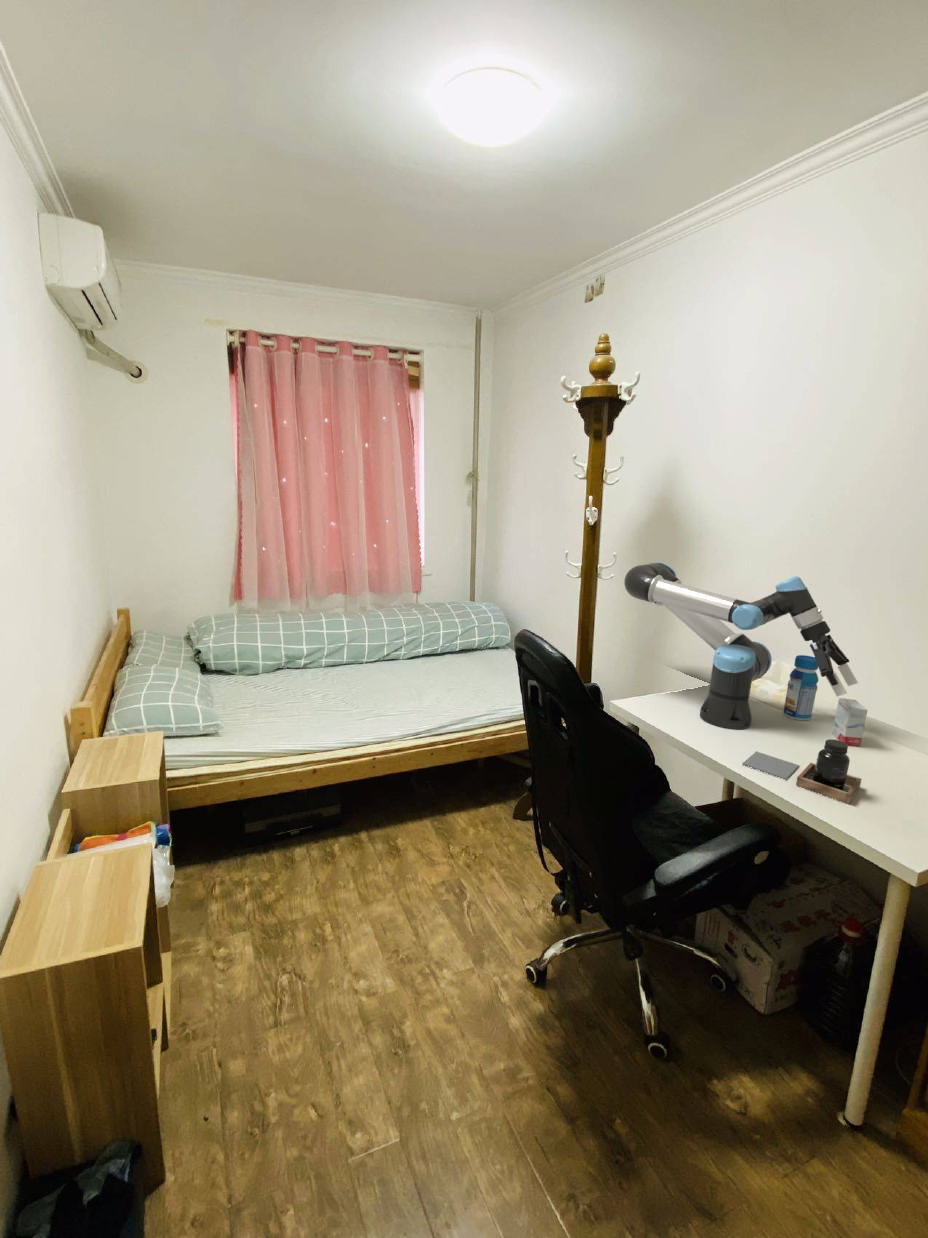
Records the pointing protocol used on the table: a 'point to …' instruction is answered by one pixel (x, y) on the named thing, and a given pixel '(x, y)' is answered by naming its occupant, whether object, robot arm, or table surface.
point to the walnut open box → (828, 790)
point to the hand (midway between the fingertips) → (847, 689)
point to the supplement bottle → (832, 764)
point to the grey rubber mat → (771, 765)
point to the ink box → (849, 722)
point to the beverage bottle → (801, 688)
